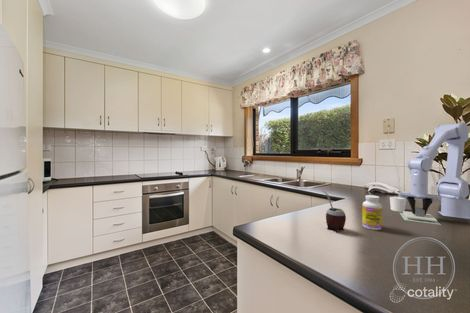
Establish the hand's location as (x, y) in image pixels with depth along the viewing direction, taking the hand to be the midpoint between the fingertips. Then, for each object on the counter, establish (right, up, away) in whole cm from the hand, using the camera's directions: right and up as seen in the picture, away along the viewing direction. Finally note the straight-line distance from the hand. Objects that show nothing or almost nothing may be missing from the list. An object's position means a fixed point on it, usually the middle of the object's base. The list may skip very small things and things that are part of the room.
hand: (418, 214), depth 94 cm
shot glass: (+1, -2, +13) cm, 14 cm away
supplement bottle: (-28, -3, -10) cm, 30 cm away
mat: (0, -2, 0) cm, 2 cm away
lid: (0, -1, 0) cm, 1 cm away
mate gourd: (-44, -3, -12) cm, 46 cm away
